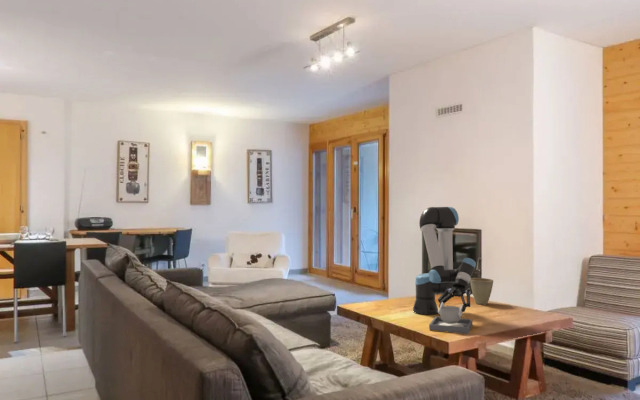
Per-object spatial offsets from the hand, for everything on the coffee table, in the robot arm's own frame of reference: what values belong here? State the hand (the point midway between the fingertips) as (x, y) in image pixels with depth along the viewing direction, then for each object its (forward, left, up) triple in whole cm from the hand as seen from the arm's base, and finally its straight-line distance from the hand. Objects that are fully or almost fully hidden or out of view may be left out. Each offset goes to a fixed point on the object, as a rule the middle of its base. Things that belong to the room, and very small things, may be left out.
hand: (449, 314), depth 264 cm
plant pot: (+11, +76, -8) cm, 77 cm away
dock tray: (+1, +3, -7) cm, 8 cm away
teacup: (0, +3, -5) cm, 5 cm away
